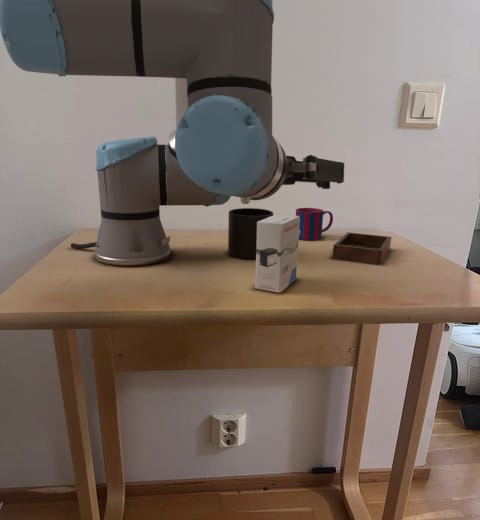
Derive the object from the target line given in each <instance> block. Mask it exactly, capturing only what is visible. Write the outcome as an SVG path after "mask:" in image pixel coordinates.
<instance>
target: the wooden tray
mask: <svg viewBox="0 0 480 520" xmlns="http://www.w3.org/2000/svg"><path fill="white" fill-rule="evenodd" d="M391 242H392V236H387V235H378V234H369V233H368V234H367V233H360V232H359V233H358V232H349V231H348V232H346V233H345V234H344V235H343V236H342V237H340V238H339V239H338V240H337V241H336V242H335V243H334V244H333V246H332V247H333V248H332V256H331V257H332V258H331V259H332V260H340V261H347V262H355V263H361V264H362V263H364V264H370V265H380V266H381V265H382V263H383V261H384V260H385V258H386V256H387V255H388V253H389V251H390V250H391Z"/></svg>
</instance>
